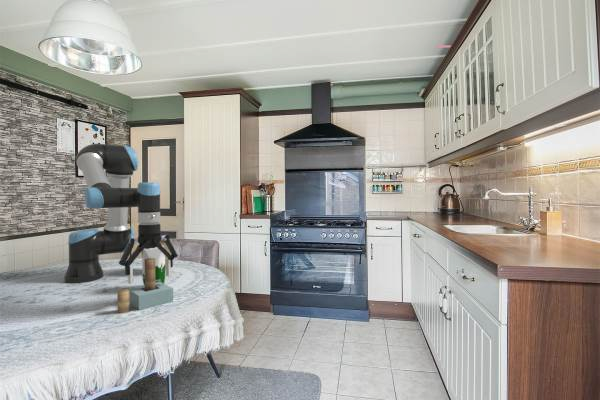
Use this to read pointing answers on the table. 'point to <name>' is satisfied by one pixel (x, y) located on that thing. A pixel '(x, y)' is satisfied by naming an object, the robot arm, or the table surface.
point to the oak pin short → (123, 301)
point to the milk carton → (159, 263)
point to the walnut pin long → (150, 274)
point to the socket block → (150, 296)
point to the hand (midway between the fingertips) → (150, 279)
